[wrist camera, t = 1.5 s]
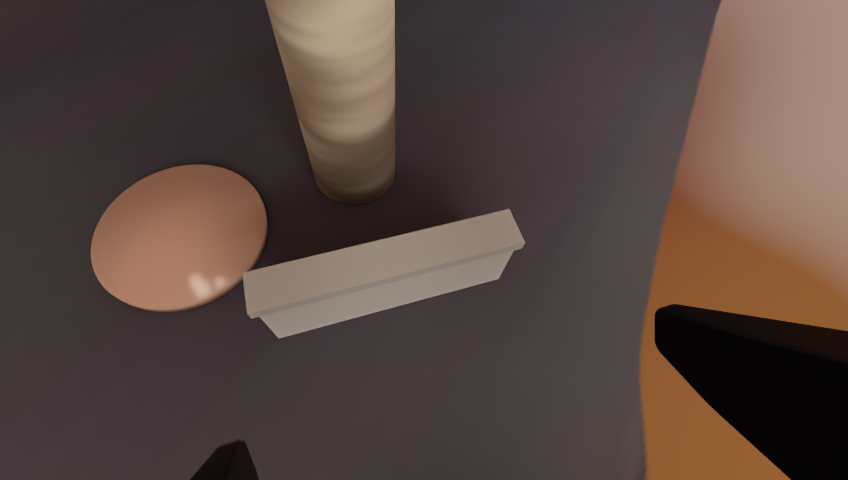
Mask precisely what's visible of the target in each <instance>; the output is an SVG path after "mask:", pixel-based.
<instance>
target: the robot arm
mask: <svg viewBox="0 0 848 480" xmlns="http://www.w3.org/2000/svg"><path fill="white" fill-rule="evenodd" d="M655 344H656V346H657V348H658V350H659V351H660V353H661V354H662V355H663V356H664V357H665V358H666V359H667V360H668V361H669V362H670V364H671V365H672V366H673V367H674V368H675V369H676V370H677V371H678V372H679V373H680V374H681V375H682V376H683V377H684V379H685V380H686V381H687V382H688V383H689V384H690V385H691V386H692V387H693V388H694V389H695V390H696V391H697V393H698V394H699V395H700V396H701V397H702V398H703V399H704V400H705V401H706V402H707V403H708V404H709V405H710V406H711V407H712V408H713V409H714V410H715V411H716V412H717V413H718V414H719V415H720V416H722V417H723V418H724V419H725V420H726V421H727V422H728V423H729V424H730V425H732V426H733V427H734V428H735V429H736V430H737V431H738V432H739V433H740V434H742V435H743V436H744V437H745V438H746V439H747V440H748V441H749V442H750V443H751V444H752V445H754V446H755V447H756V448H757V449H758V450H759V451H760V452H761V453H762V454H763V455H764V456H766V457H767V458H768V459H769V460H770V461H771V462H772V463H774V465H775V466H777V467H778V468H779V469H780V470H781V471H782V472H783V473H784V474H786V476H788V477H789V478H790V479H791V480H848V331H843V330H837V329H830V328H824V327H818V326H811V325H805V324H798V323H792V322H786V321H779V320H773V319H767V318H760V317H754V316H748V315H741V314H735V313H728V312H722V311H716V310H709V309H702V308H696V307H690V306H684V305H677V304H672V305H669V306H666V307H662V308H659V309H658V310H657V311H656V313H655ZM190 480H258V475H257V472H256V469H255V466H254V463H253V461H252V458H251V456H250V453H249V450H248V448H247V445H246V443H245V442H244V441H243V440H241V439H238V440H235V441H232V442H229V443H225V444H222V445H220V446H219V447H218V448H217V449H216V450H215V451H214V452H213V453H212V455H211V456H210V457H209V458H208V459H207V460H206V462H205V463H204V464H203V465H202V466H201V467H200V469H199V470H198V471H197V472H196V473H195V475H194V476H193V477H192V478H191V479H190Z"/></svg>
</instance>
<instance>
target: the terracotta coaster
mask: <svg viewBox="0 0 848 480" xmlns="http://www.w3.org/2000/svg"><path fill="white" fill-rule="evenodd" d="M267 236H268V216H267V212H266V209H265V206H264V204H263V202H262V200H261V198H260V196H259V194H258V192H257V191H256V190H255V188H254V187H253V186H252V185H251V184H250V183H249V182H248V181H247V180H246V179H244V178H243V177H242V176H240V175H238V174H236V173H234V172H233V171H230V170H227V169H225V168H221V167H217V166H211V165H183V166H178V167H173V168H169V169H165V170H162V171H159V172H157V173H154V174H152V175H150V176H148V177H146V178H143V179H142V180H140V181H138V182H137V183H135V184H133V185H132V186H131V187H129V188H128V189H126V190H125V191H124V192H123V193H122V194H121V195H119V196H118V197H117V198H116V199H115V200H114V201H113V202H112V204H111V205H110V206H109V207H108V208H107V210H106V211H105V212H104V214H103V215H102V217H101V219H100V221H99V222H98V224H97V227H96V229H95V232H94V234H93V239H92V243H91V262H92V266H93V270H94V272H95V274H96V276H97V278H98V280H99V282H100V283H101V284H102V286H103V287H104V288H105V289H106V290H107V291H108V292H109V293H111V294H112V295H113V296H115V297H116V298H118V299H120V300H121V301H123V302H124V303H126V304H128V305H130V306H133V307H135V308H138V309H142V310H145V311H152V312H177V311H184V310H188V309H193V308H196V307H199V306H202V305H205V304H207V303H209V302H211V301H214V300H216V299H218V298H219V297H221V296H223V295H224V294H226V293H228V292H229V291H230V290H232V289H233V288H234V287H236V286H237V285H238V284H239V283H240V282H241V281H242V280H243V275H242V273H243V272H248V271H251V270H252V269H253V268H254V266H255V265H256V263H257V262H258V260H259V258H260V256H261V254H262V252H263V250H264V247H265V244H266V241H267Z"/></svg>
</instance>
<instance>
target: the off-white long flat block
mask: <svg viewBox="0 0 848 480" xmlns="http://www.w3.org/2000/svg"><path fill="white" fill-rule="evenodd" d="M524 244H525V241H524V239H523V237H522V235H521V233H520V231H519V228H518V226H517V224H516V222H515V220H514V218H513V216H512V213H511V211H510V209H507V210H503V211H498V212H494V213H490V214H486V215H482V216H477V217H473V218H469V219H465V220H461V221H457V222H452V223H448V224H444V225H440V226H436V227H431V228H427V229H423V230H419V231H415V232H411V233H406V234H402V235H398V236H394V237H390V238H386V239H381V240H377V241H373V242H369V243H365V244H360V245H356V246H352V247H348V248H344V249H340V250H335V251H331V252H327V253H323V254H319V255H314V256H310V257H306V258H302V259H298V260H294V261H289V262H285V263H281V264H277V265H273V266H268V267H264V268H260V269H256V270H252V271H248V272H243V273H242V275H243V283H244V292H245V300H246V308H247V314H248V315H249V316H250V318H251V319H252V318H256V317H260V318H261V319H262V320H263V321H264V323H265V324H266V325H267V326H268V327H269V328H270V329H271V330H272V331H273V333H274V334H275V335H276V336H277V337H278V338H283V337H287V336H290V335H294V334H298V333H301V332H305V331H309V330H312V329H316V328H320V327H323V326H327V325H331V324H335V323H338V322H342V321H346V320H349V319H353V318H357V317H360V316H364V315H368V314H371V313H375V312H379V311H383V310H386V309H390V308H394V307H397V306H401V305H405V304H408V303H412V302H416V301H419V300H423V299H427V298H430V297H434V296H438V295H442V294H445V293H449V292H453V291H456V290H460V289H464V288H467V287H471V286H475V285H478V284H482V283H486V282H489V281H493V280H497V279H499V277H500V275H501V273H502V272H503V270H504V268H505V266H506V264H507V262H508V260H509V259H510V257H511V255H512V253H513V251H514V250H518V249H522V247H523V245H524Z"/></svg>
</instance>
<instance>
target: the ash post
mask: <svg viewBox="0 0 848 480" xmlns="http://www.w3.org/2000/svg"><path fill="white" fill-rule="evenodd" d="M265 2H266V6H267V9H268V13H269V17H270V20H271V24H272V27H273V31H274V34H275V38H276V41H277V45H278V49H279V52H280V56H281V59H282V63H283V66H284V70H285V74H286V77H287V81H288V84H289V88H290V91H291V95H292V98H293V102H294V106H295V109H296V113H297V116H298V120H299V123H300V127H301V131H302V134H303V138H304V141H305V145H306V148H307V152H308V156H309V159H310V163H311V166H312V170H313V173H314V177H315V180H316V183H317V186H318V187H319V189H320V190H321V191H322V193H323V194H324V195H326V196H327V197H328V198H330V199H332V200H334V201H336V202H338V203H342V204H347V205H360V204H366V203H369V202H372V201H374V200H376V199H378V198H380V197H381V196H383V195H384V194H385V193H386V192H387V191H388V190H389V188H390V187H391V185H392V184H393V181H394V178H395V0H265Z"/></svg>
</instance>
